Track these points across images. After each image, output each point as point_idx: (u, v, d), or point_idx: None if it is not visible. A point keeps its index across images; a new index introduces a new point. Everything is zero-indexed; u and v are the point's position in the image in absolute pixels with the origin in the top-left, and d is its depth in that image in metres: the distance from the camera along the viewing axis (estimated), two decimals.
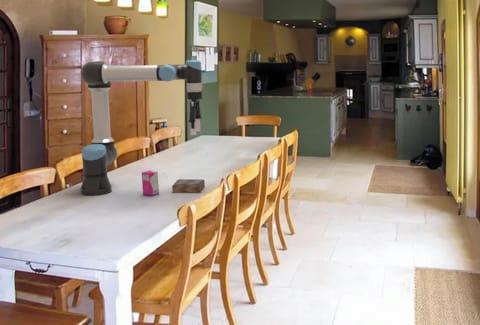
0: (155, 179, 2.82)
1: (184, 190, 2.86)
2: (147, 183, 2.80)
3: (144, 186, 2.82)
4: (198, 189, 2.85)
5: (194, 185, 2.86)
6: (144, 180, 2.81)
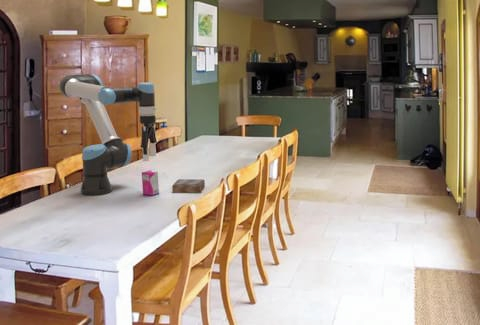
0: (155, 179, 2.82)
1: (184, 190, 2.86)
2: (147, 183, 2.80)
3: (144, 186, 2.82)
4: (198, 189, 2.85)
5: (194, 185, 2.86)
6: (144, 180, 2.81)
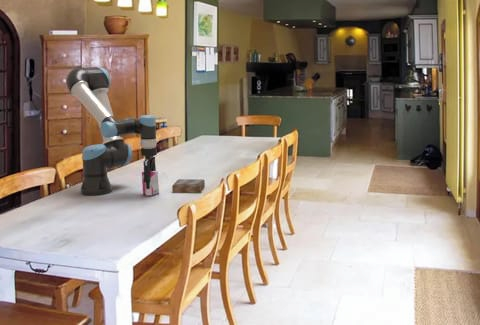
0: (155, 179, 2.82)
1: (184, 190, 2.86)
2: None
3: (144, 186, 2.82)
4: (198, 189, 2.85)
5: (194, 185, 2.86)
6: None
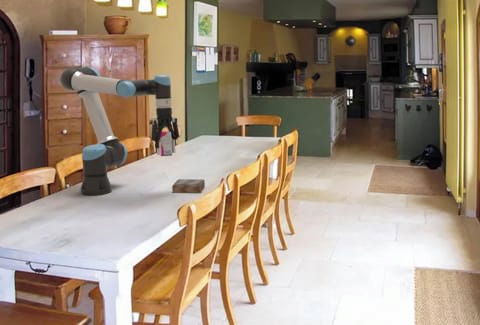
0: (168, 140, 2.80)
1: (184, 190, 2.86)
2: None
3: None
4: (198, 189, 2.85)
5: (194, 185, 2.86)
6: None
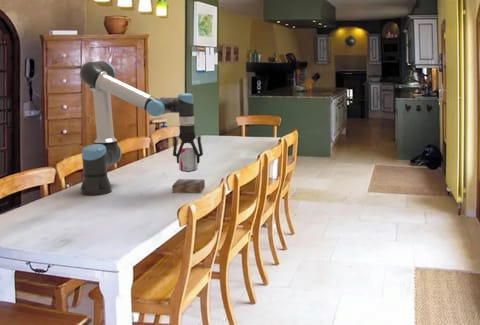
0: (186, 157, 2.87)
1: (184, 190, 2.86)
2: None
3: None
4: (198, 189, 2.85)
5: (194, 185, 2.86)
6: None
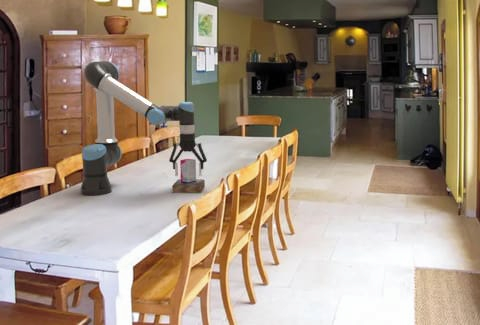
0: (186, 168, 2.88)
1: (184, 190, 2.86)
2: None
3: None
4: (198, 189, 2.85)
5: (194, 185, 2.86)
6: None
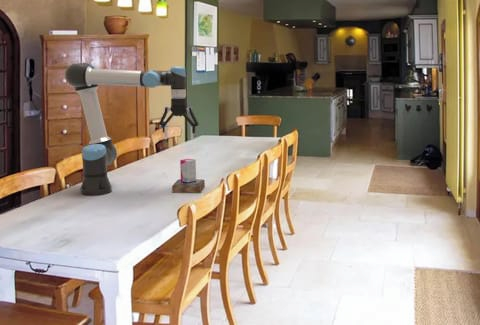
0: (186, 168, 2.88)
1: (184, 190, 2.86)
2: None
3: None
4: (198, 189, 2.85)
5: (194, 185, 2.86)
6: None
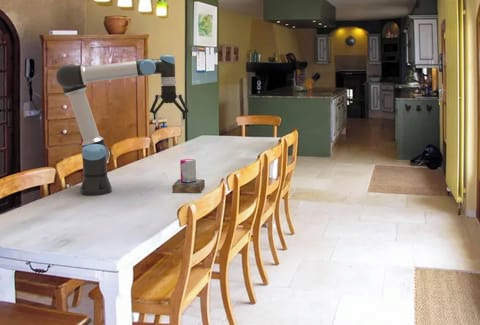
0: (186, 168, 2.88)
1: (184, 190, 2.86)
2: None
3: None
4: (198, 189, 2.85)
5: (194, 185, 2.86)
6: None
